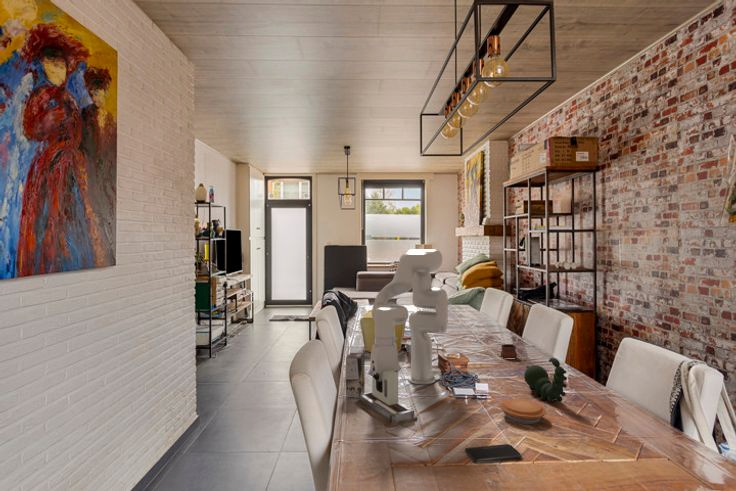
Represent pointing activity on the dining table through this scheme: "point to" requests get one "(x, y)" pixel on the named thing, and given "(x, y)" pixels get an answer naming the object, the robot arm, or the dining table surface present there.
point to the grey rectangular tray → (386, 410)
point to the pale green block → (387, 387)
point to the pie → (522, 411)
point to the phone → (493, 453)
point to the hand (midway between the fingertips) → (384, 389)
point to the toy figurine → (546, 381)
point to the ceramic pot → (508, 351)
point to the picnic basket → (369, 331)
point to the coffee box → (355, 374)
